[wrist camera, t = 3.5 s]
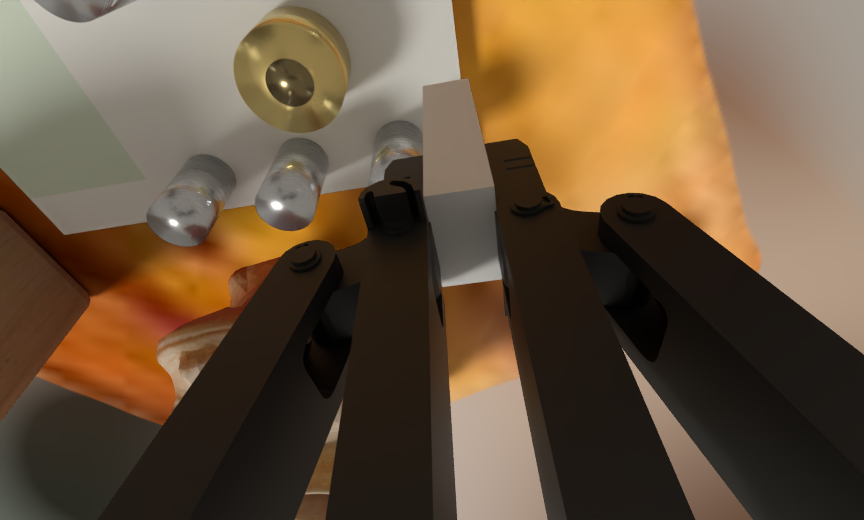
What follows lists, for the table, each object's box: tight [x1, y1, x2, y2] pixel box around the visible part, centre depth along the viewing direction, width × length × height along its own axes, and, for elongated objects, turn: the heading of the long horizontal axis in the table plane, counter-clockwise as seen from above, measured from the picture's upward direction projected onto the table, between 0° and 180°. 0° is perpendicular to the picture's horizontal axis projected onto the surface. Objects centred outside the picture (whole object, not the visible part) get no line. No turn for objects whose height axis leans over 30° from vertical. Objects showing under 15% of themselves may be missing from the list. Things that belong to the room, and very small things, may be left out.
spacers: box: [34, 0, 423, 247], centre depth 20 cm, size 14×17×5 cm
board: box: [0, 0, 461, 235], centre depth 23 cm, size 16×28×1 cm, turn 99°
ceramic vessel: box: [157, 250, 343, 520], centre depth 32 cm, size 14×26×15 cm, turn 12°
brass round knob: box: [233, 6, 351, 133], centre depth 21 cm, size 5×5×3 cm
